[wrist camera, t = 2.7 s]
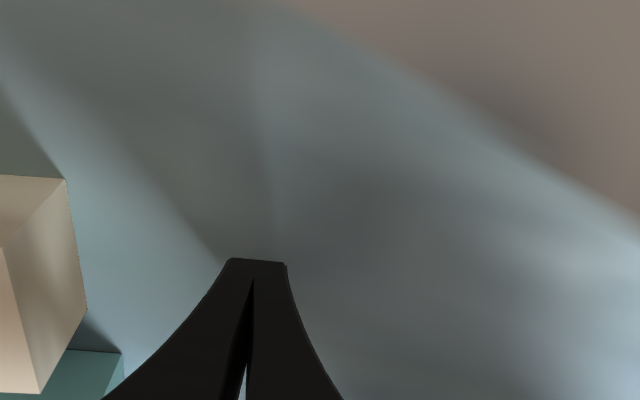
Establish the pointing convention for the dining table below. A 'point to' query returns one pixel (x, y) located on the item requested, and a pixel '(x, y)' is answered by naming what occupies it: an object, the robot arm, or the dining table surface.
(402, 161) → the dining table surface
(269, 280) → the robot arm
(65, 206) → the stub
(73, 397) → the teal toy building
